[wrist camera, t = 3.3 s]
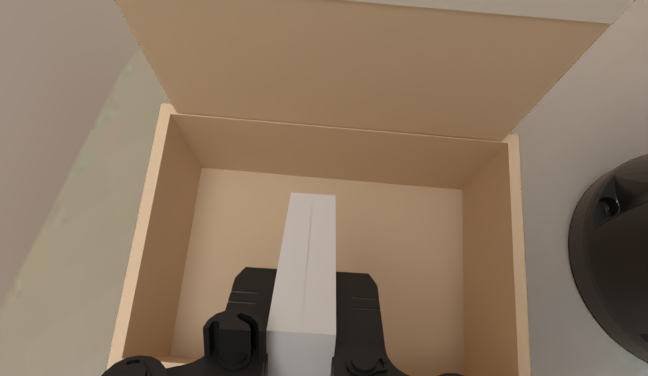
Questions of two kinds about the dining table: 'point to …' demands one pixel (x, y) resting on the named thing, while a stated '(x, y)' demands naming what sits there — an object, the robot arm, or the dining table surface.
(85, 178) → the dining table surface
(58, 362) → the dining table surface
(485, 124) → the light wood flat panel
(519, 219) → the light wood open box
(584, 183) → the dining table surface
